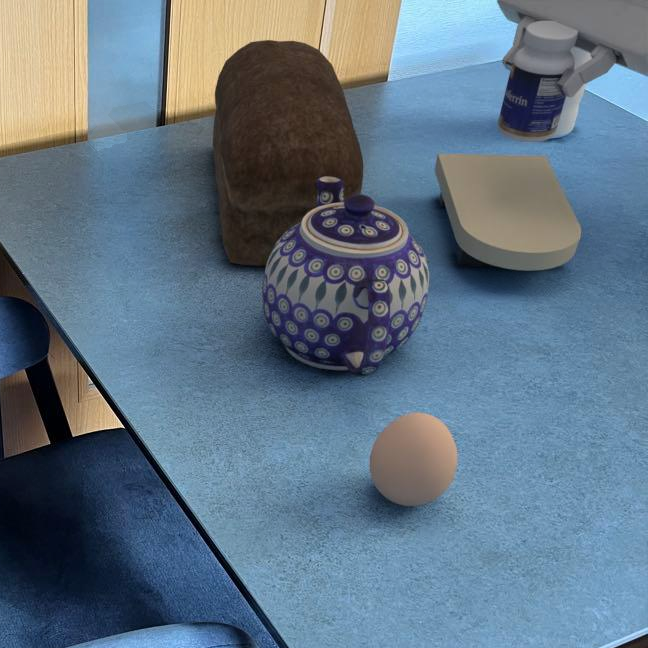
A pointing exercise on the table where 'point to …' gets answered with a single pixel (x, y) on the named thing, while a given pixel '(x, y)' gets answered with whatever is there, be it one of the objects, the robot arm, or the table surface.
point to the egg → (413, 459)
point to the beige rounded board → (507, 211)
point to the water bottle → (572, 98)
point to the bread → (278, 143)
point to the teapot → (345, 283)
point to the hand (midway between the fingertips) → (535, 79)
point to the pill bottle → (537, 83)
